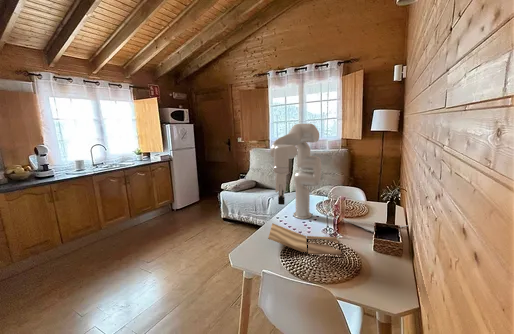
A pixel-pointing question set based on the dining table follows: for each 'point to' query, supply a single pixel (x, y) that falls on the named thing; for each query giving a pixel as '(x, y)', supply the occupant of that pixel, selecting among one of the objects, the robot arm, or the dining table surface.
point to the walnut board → (322, 246)
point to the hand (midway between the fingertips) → (281, 204)
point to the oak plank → (288, 238)
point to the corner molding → (365, 225)
